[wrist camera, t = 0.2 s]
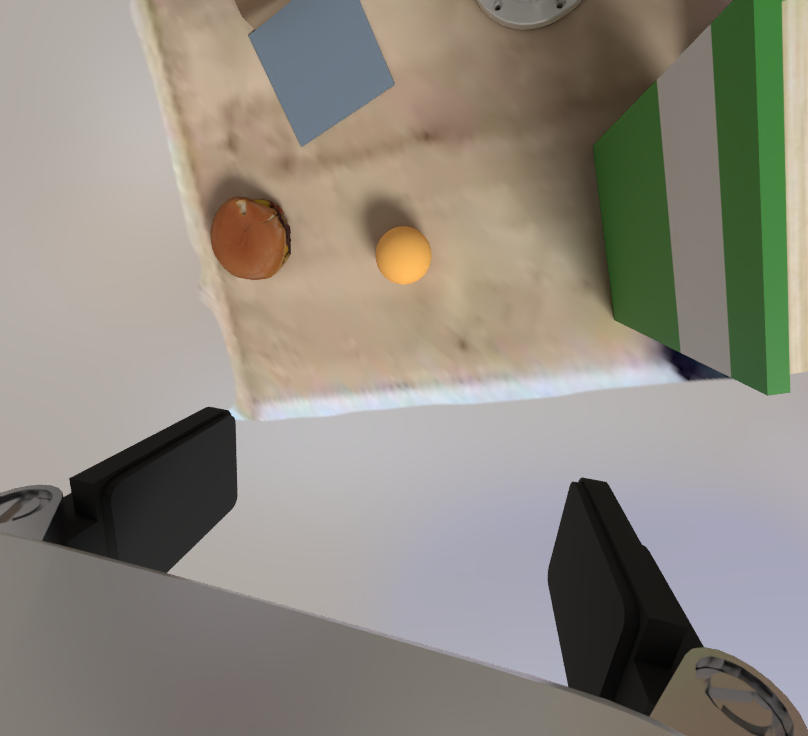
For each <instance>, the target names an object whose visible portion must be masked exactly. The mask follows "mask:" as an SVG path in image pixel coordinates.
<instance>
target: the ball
mask: <svg viewBox="0 0 808 736" xmlns="http://www.w3.org/2000/svg"><path fill="white" fill-rule="evenodd" d="M376 262H377V266H378V268H379V270H380V272H381V273H382V274H383V275H384V276H385V277H386V278H387V279H388V280H390V281H392V282H394V283H397V284H410V283H413V282H415V281H417V280H419V279H420V278H421V277H422V276H423V275H424V274H425V273H426V272H427V270H428V268H429V266H430V262H431V248H430V245H429V243H428V241H427V239H426V238H425V236H424V235H423V234H422V233H421V232H419V231H418V230H416V229H414V228H412V227H407V226H400V227H395V228H393V229H391V230H389V231H388V232H386V233H385V234H384V235H383V236H382V237H381V239H380V241H379V242H378V245H377V248H376Z"/></svg>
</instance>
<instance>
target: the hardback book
mask: <svg viewBox="0 0 808 736" xmlns="http://www.w3.org/2000/svg"><path fill="white" fill-rule="evenodd" d="M593 153H594V160H595V168H596V176H597V184H598V192H599V200H600V208H601V216H602V224H603V232H604V240H605V248H606V256H607V264H608V272H609V280H610V288H611V295H612V303H613V311H614V319H615V321H617V322H619V323H621V324H623V325H626V326H628V327H630V328H632V329H634V330H636V331H638V332H640V333H642V334H644V335H646V336H648V337H650V338H652V339H654V340H656V341H658V342H660V343H662V344H664V345H666V346H668V347H670V348H672V349H674V350H676V351H678V352H680V353H682V354H684V355H686V356H688V357H690V358H692V359H695V360H697V361H699V362H701V363H703V364H705V365H707V366H709V367H711V368H713V369H715V370H717V371H719V372H721V373H723V374H725V375H727V376H729V377H731V378H733V379H735V380H737V381H739V382H742V383H743V384H745V385H748V386H749V387H751V388H754V389H755V390H758V391H760V392H761V393H764V394H766V395H775V394H782V393H789V392H790V374H793V373H800V372H806V371H808V0H733V1H732V2H731V3H730V4H729V5H728V6H727V7H726V8H725V9H724V10H723V11H722V12H721V14H720V15H719V16H718V17H717V18H716V19H715V20H714V21H713V22H712V23H711V24H710V25H709V26H708V27H707V28H706V29H705V30H704V31H703V32H702V33H701V34H700V35H699V36H698V37H697V38H696V39H695V40H694V42H693V43H692V44H691V45H690V46H689V47H688V48H687V49H686V50H685V51H684V52H683V53H682V54H681V55H680V56H679V57H678V58H677V59H676V60H675V61H674V62H673V63H672V64H671V65H670V66H669V67H668V68H667V70H666V71H665V72H664V73H663V74H662V75H661V76H660V77H659V78H658V79H657V80H656V81H655V82H654V83H653V84H652V85H651V86H650V87H649V88H648V89H647V90H646V91H645V92H644V93H643V94H642V95H641V96H640V98H639V99H638V100H637V101H636V102H635V103H634V104H633V105H632V106H631V107H630V108H629V109H628V110H627V111H626V112H625V113H624V114H623V115H622V116H621V117H620V118H619V119H618V120H617V121H616V122H615V123H614V124H613V126H612V127H611V128H610V129H609V130H608V131H607V132H606V133H605V134H604V135H603V136H602V137H601V138H600V139H599V140H598V141H597V142H596V143H595V144H594V145H593Z"/></svg>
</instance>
